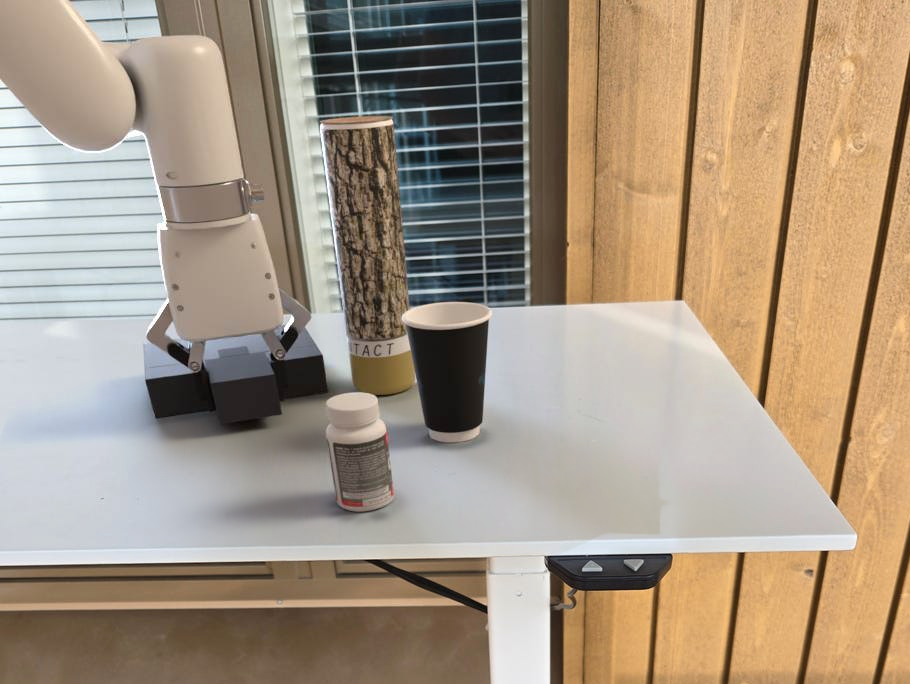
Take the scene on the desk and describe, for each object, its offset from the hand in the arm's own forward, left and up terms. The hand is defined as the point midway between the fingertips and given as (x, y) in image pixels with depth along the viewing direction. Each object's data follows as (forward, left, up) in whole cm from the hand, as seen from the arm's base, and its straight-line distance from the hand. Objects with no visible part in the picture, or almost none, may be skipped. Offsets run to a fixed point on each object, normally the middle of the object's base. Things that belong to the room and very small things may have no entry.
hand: (245, 400), depth 88 cm
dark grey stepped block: (0, +1, -1) cm, 2 cm away
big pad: (0, +11, -2) cm, 11 cm away
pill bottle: (+7, -24, -2) cm, 25 cm away
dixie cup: (+18, -13, -2) cm, 22 cm away
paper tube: (+15, +3, -2) cm, 15 cm away
